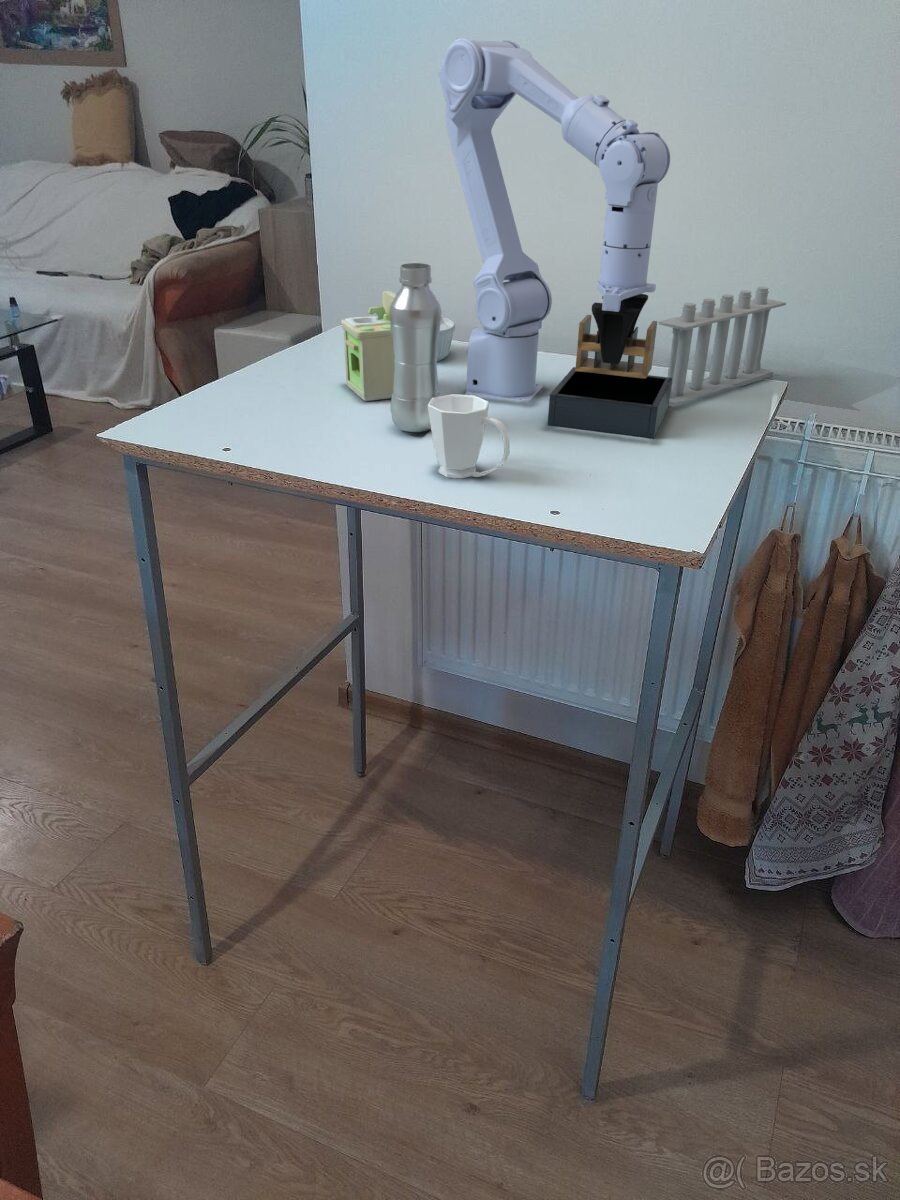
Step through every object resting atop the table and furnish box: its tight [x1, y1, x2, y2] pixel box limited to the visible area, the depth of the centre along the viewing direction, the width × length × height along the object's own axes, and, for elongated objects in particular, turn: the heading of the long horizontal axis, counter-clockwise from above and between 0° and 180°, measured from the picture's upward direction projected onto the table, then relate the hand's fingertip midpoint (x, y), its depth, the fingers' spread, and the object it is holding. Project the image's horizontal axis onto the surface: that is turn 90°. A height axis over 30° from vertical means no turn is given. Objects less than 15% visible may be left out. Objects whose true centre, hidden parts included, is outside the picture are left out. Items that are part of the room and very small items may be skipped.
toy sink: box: [340, 290, 397, 402], centre depth 131 cm, size 8×7×13 cm
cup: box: [428, 393, 511, 480], centre depth 105 cm, size 7×10×8 cm
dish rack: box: [575, 314, 658, 379], centre depth 119 cm, size 9×5×6 cm, turn 71°
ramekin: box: [437, 316, 456, 362], centre depth 149 cm, size 11×11×5 cm
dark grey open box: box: [547, 366, 673, 440], centre depth 124 cm, size 14×14×5 cm
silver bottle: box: [389, 262, 443, 433], centre depth 115 cm, size 6×7×20 cm
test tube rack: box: [658, 286, 787, 406], centre depth 135 cm, size 25×4×13 cm, turn 132°
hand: (614, 357), depth 120 cm, fingers closed on dish rack, 5 cm apart
